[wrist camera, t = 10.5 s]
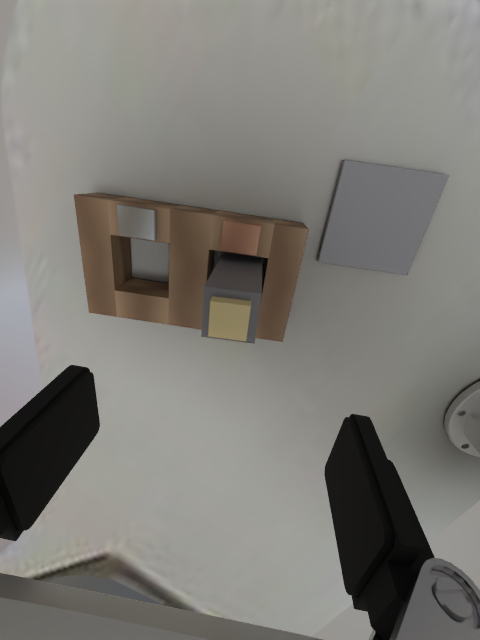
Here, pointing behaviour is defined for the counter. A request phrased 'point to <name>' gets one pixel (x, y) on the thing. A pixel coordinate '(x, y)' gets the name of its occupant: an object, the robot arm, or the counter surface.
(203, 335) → the plug
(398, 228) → the mat
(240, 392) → the counter surface
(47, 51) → the counter surface
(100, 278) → the socket board
